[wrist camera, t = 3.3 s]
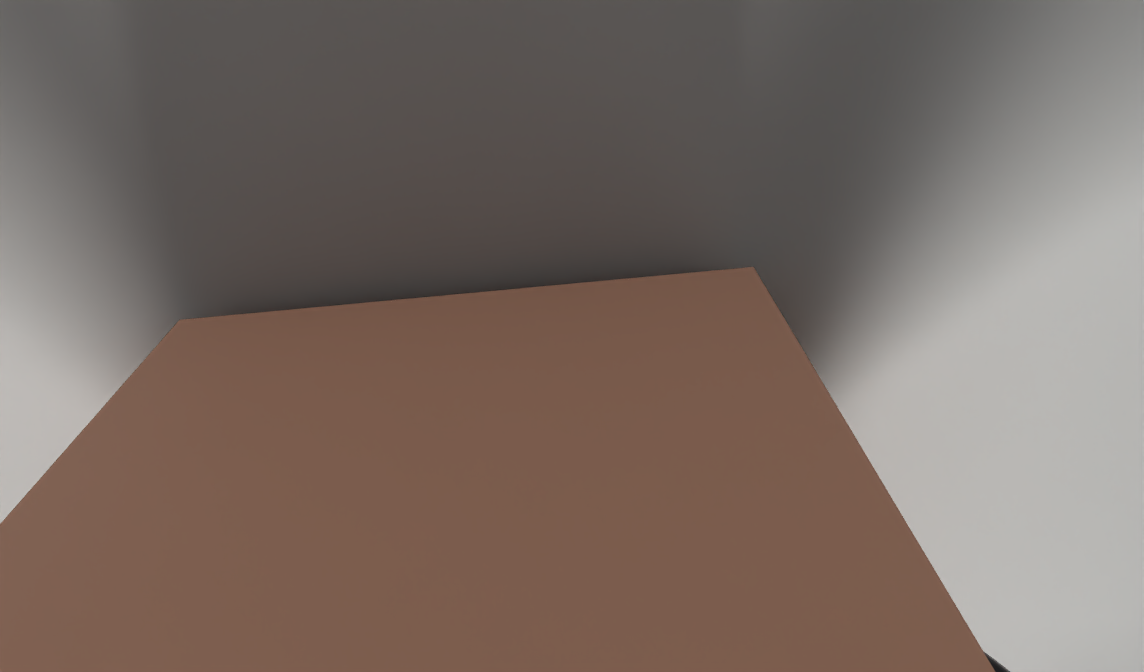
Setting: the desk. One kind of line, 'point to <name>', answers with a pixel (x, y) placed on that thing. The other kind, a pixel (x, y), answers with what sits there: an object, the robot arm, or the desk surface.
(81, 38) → the desk surface
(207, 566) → the terracotta block
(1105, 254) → the desk surface
